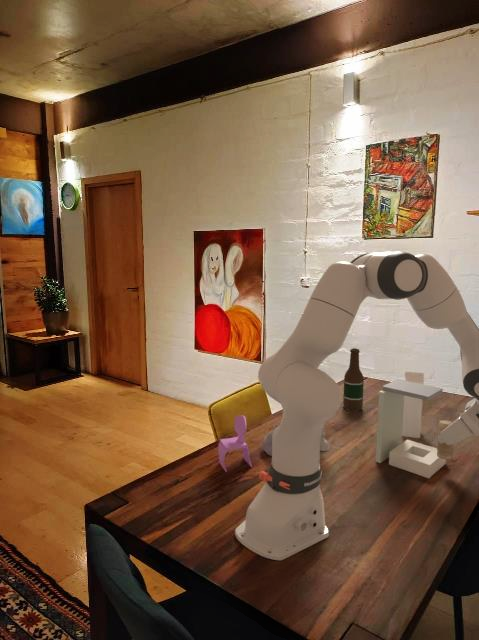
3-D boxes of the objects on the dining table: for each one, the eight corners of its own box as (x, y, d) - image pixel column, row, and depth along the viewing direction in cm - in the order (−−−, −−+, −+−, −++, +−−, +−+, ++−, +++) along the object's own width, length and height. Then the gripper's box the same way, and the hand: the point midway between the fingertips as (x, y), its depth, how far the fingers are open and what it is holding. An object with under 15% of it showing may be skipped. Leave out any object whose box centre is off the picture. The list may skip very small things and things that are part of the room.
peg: (449, 460, 130) (451, 426, 128) (434, 456, 133) (437, 423, 131) (454, 456, 133) (457, 422, 131) (440, 451, 136) (442, 419, 134)
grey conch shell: (283, 470, 141) (276, 441, 138) (258, 456, 151) (251, 428, 147) (310, 449, 148) (303, 421, 144) (284, 437, 157) (278, 410, 153)
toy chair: (216, 461, 141) (215, 414, 139) (243, 456, 145) (243, 410, 142) (225, 474, 134) (224, 424, 131) (253, 468, 137) (253, 420, 134)
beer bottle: (339, 405, 189) (341, 347, 185) (356, 403, 191) (358, 346, 187) (349, 411, 182) (351, 352, 178) (366, 409, 184) (369, 350, 180)
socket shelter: (427, 479, 130) (432, 400, 126) (375, 461, 141) (379, 387, 137) (446, 462, 140) (452, 388, 136) (396, 446, 151) (400, 377, 147)
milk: (420, 438, 157) (424, 375, 153) (401, 436, 159) (404, 373, 155) (419, 431, 163) (423, 370, 159) (401, 429, 165) (405, 369, 161)
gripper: (487, 394, 133) (449, 418, 141) (461, 413, 118) (421, 438, 126) (503, 413, 130) (464, 436, 139) (479, 435, 116) (436, 459, 124)
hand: (443, 437), depth 132 cm, fingers closed on peg, 4 cm apart
